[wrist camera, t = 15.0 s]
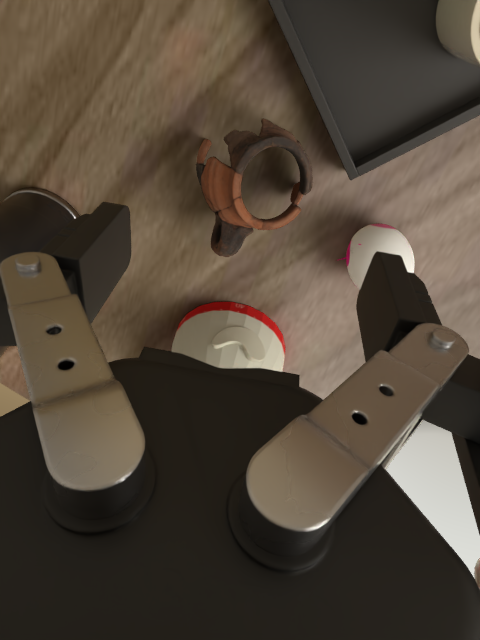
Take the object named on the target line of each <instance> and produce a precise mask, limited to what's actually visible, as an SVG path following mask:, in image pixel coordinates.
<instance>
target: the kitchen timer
mask: <svg viewBox="0 0 480 640" xmlns="http://www.w3.org/2000/svg"><path fill="white" fill-rule="evenodd" d="M171 352H176V353H181V354H184V355H187V356H189V357H192V358H194V359H197V360H200V361H202V362H205V363H207V364H210V365H212V366H215V367H218V368H264V369H269V370H275V371H280V372H282V370H283V364H284V357H285V343H284V339H283V335H282V333H281V331H280V330H279V328H278V327H277V325H276V324H275V323H274V322H273V321H272V320H271V319H270V318H269V317H267V316H266V315H265V314H264V313H262V312H260V311H258V310H256V309H254V308H252V307H250V306H248V305H243V304H239V303H235V302H213V303H209V304H205V305H201V306H199V307H197V308H195V309H194V310H192V311H190V312H189V313H187V315H186V316H185V317H184V318H183V319H182V321H181V322H180V324H179V326H178V329H177V331H176V335H175V338H174V341H173V345H172V351H171Z"/></svg>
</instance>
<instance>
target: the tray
mask: <svg viewBox="0 0 480 640" xmlns="http://www.w3.org/2000/svg"><path fill="white" fill-rule="evenodd" d="M268 1H269V3H270V5H271V8H272V10H273V12H274V14H275V16H276V19H277V21H278V23H279V25H280V27H281V30H282V32H283V34H284V36H285V38H286V41H287V43H288V45H289V47H290V49H291V51H292V54H293V56H294V58H295V60H296V62H297V65H298V67H299V69H300V71H301V73H302V76H303V78H304V80H305V82H306V84H307V87H308V89H309V91H310V93H311V95H312V98H313V100H314V102H315V104H316V106H317V109H318V111H319V113H320V115H321V117H322V120H323V122H324V124H325V126H326V128H327V131H328V133H329V135H330V137H331V139H332V142H333V144H334V146H335V148H336V150H337V153H338V155H339V157H340V159H341V161H342V164H343V166H344V168H345V170H346V172H347V174H348V177H349V179H350V180H352V179H354V178H356V177H358V176H361V175H363V174H365V173H367V172H369V171H371V170H373V169H374V168H376V167H378V166H380V165H382V164H384V163H386V162H388V161H390V160H392V159H394V158H396V157H398V156H400V155H402V154H404V153H406V152H408V151H410V150H412V149H414V148H416V147H418V146H420V145H422V144H424V143H426V142H428V141H430V140H432V139H434V138H436V137H438V136H440V135H442V134H444V133H446V132H448V131H450V130H451V129H453V128H455V127H457V126H459V125H461V124H463V123H465V122H467V121H469V120H471V119H473V118H475V117H477V116H479V115H480V68H477V67H475V66H473V65H471V64H469V63H467V62H465V61H463V60H461V59H458V58H456V57H454V56H452V55H451V54H450V53H448V52H447V51H446V49H445V48H444V47H443V45H442V44H441V42H440V40H439V38H438V34H437V29H436V11H437V6H438V1H439V0H268Z"/></svg>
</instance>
